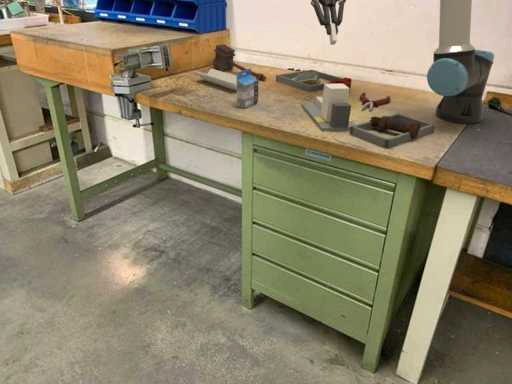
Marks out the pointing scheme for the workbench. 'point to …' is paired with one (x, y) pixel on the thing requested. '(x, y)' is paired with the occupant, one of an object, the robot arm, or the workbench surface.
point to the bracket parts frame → (309, 88)
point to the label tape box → (246, 89)
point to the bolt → (396, 125)
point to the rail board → (317, 113)
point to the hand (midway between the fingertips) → (333, 42)
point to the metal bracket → (307, 76)
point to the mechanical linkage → (342, 82)
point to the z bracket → (220, 78)
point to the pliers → (373, 102)
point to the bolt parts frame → (361, 132)
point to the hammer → (229, 61)
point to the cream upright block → (333, 98)
